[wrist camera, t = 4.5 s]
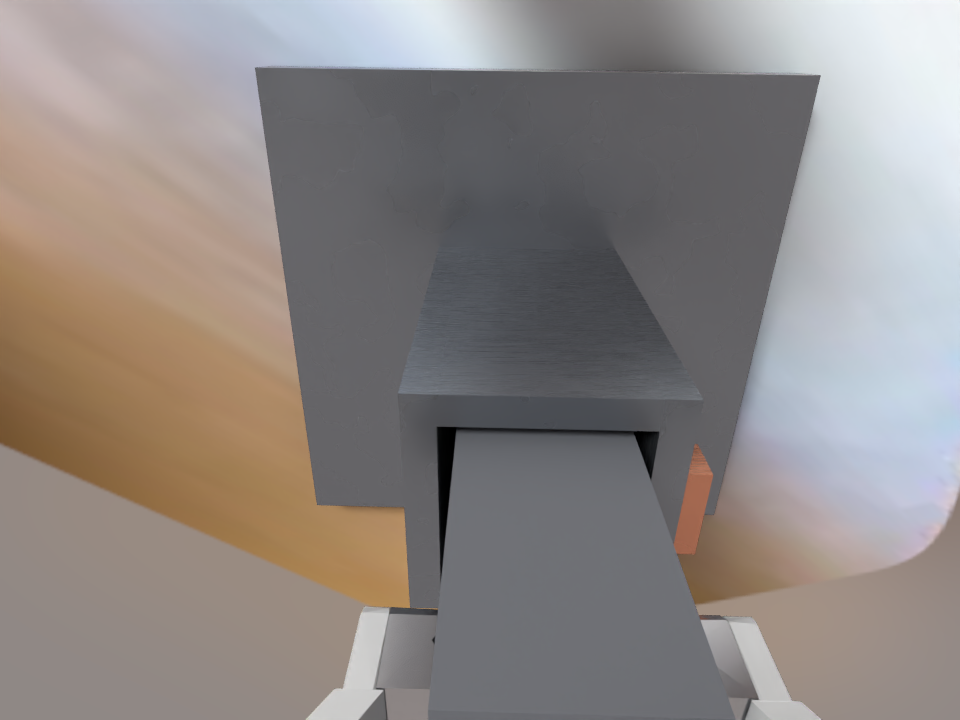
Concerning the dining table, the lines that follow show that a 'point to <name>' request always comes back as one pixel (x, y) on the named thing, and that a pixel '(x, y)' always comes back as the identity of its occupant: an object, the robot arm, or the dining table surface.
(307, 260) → the stand
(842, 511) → the dining table surface
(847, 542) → the dining table surface
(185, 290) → the dining table surface
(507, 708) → the post
